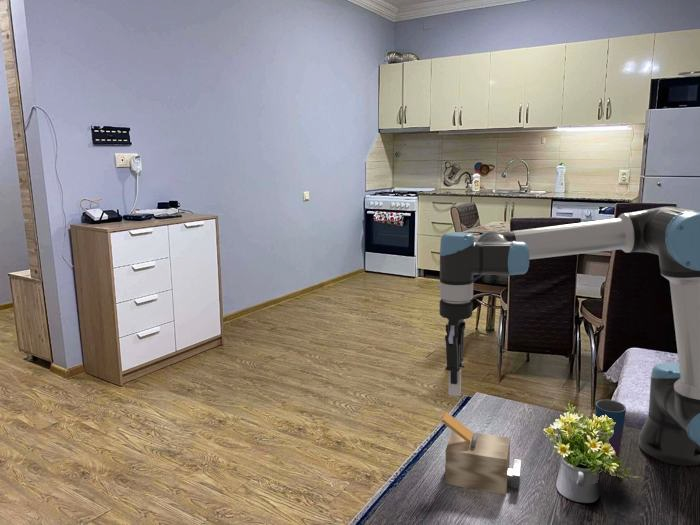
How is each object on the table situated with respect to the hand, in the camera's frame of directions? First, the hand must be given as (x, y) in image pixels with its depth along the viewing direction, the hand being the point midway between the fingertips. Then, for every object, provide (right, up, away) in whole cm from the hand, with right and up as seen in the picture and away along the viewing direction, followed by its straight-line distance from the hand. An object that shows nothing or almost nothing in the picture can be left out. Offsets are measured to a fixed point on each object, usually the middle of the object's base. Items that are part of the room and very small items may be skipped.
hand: (454, 394), depth 127 cm
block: (+6, -21, +2) cm, 22 cm away
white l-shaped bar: (+6, -21, +2) cm, 22 cm away
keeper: (+1, -9, +2) cm, 10 cm away
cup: (+40, -19, +7) cm, 45 cm away
